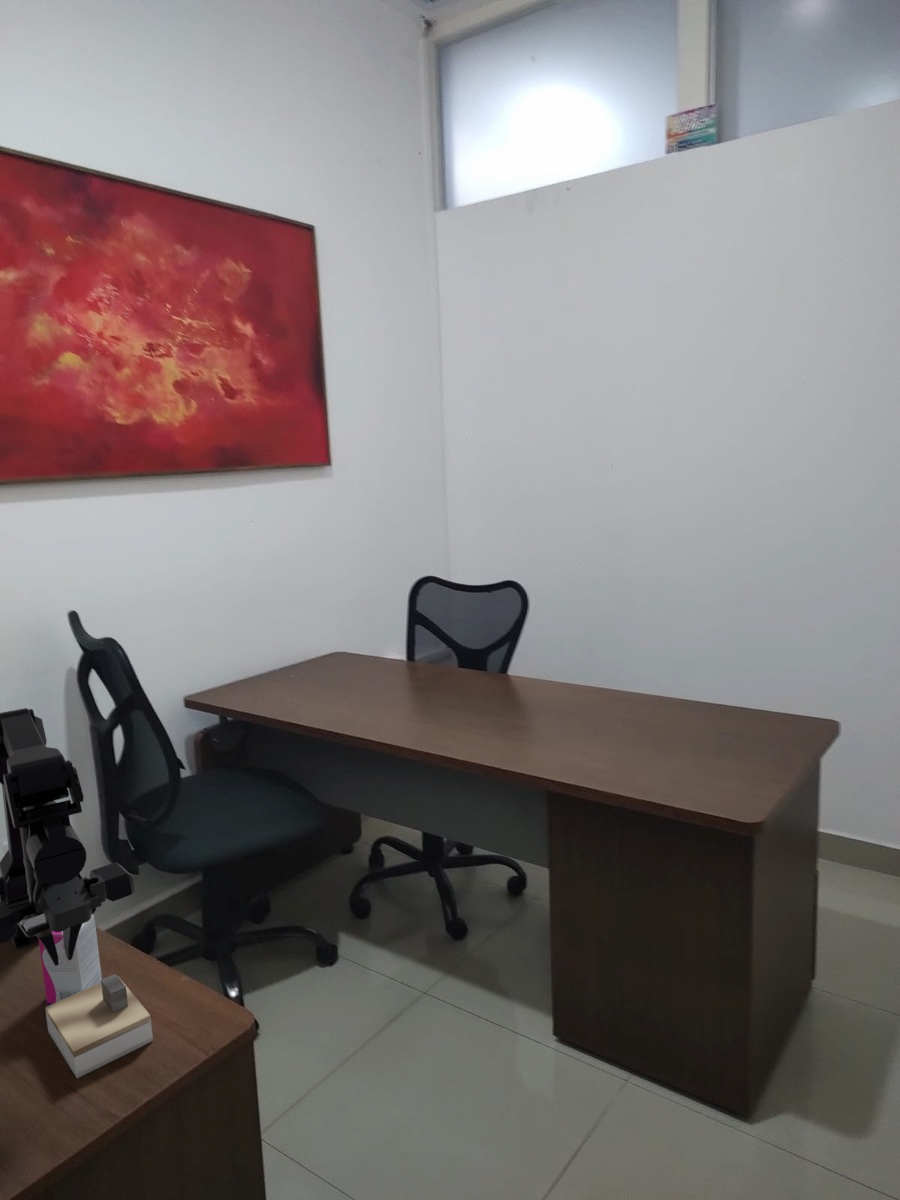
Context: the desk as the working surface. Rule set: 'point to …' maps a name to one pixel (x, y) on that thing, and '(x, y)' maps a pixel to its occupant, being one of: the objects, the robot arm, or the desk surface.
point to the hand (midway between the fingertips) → (62, 961)
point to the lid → (97, 1015)
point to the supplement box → (72, 965)
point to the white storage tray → (102, 1048)
